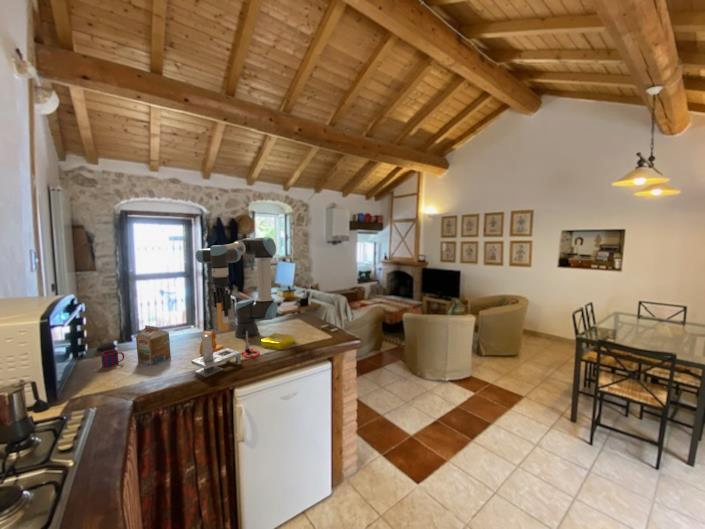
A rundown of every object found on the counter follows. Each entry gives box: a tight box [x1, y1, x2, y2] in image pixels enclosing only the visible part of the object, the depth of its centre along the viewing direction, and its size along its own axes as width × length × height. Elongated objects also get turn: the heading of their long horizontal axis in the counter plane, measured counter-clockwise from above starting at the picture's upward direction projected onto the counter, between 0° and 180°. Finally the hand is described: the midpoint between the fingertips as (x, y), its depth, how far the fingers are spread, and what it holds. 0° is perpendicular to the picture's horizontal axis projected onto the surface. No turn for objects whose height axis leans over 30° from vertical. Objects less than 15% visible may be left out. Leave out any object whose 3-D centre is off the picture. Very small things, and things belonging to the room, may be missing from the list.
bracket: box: [199, 330, 224, 355], centre depth 172 cm, size 11×7×12 cm, turn 164°
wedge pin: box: [216, 302, 230, 332], centre depth 153 cm, size 4×4×14 cm
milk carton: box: [135, 324, 172, 367], centre depth 161 cm, size 11×11×19 cm
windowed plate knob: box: [191, 334, 242, 378], centre depth 150 cm, size 19×12×18 cm, turn 146°
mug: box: [100, 349, 125, 369], centre depth 157 cm, size 7×10×7 cm
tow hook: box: [241, 331, 260, 359], centre depth 167 cm, size 8×13×9 cm
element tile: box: [260, 332, 295, 350], centre depth 184 cm, size 15×15×5 cm
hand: (223, 322), depth 153 cm, fingers closed on wedge pin, 3 cm apart
